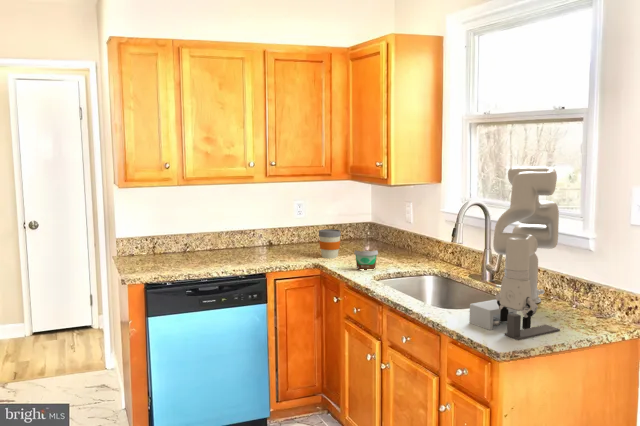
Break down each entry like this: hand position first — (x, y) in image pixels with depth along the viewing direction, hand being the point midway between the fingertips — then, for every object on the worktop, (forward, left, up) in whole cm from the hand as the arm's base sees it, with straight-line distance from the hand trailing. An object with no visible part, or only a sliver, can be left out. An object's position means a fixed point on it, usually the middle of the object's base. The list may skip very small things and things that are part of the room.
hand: (515, 324), depth 209 cm
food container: (-18, -115, -5) cm, 117 cm away
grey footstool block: (-5, -15, -4) cm, 17 cm away
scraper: (-9, 0, -5) cm, 10 cm away
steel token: (-5, -15, -5) cm, 17 cm away
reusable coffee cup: (-20, -155, -5) cm, 157 cm away
